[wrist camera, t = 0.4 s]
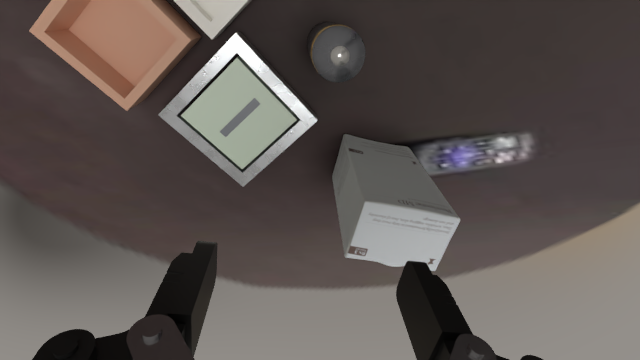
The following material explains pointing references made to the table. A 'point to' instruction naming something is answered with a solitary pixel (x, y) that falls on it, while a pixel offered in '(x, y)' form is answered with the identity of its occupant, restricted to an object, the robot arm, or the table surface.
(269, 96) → the plate
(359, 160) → the skincare box
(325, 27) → the cell
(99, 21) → the dish
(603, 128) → the table surface
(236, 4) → the trough
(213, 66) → the grey square slotted tray
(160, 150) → the table surface
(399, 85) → the table surface
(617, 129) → the table surface
